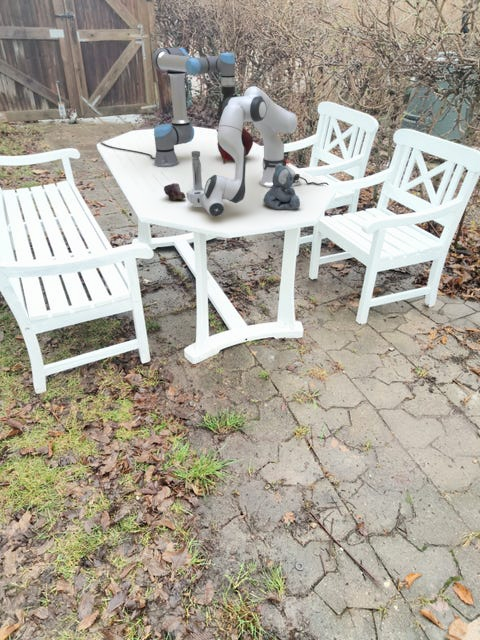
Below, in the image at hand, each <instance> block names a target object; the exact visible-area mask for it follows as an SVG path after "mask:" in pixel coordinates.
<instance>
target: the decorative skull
mask: <svg viewBox="0 0 480 640" xmlns="http://www.w3.org/2000/svg"><path fill="white" fill-rule="evenodd" d="M216 132H217V133H218V128H217V129H216ZM241 139H242V144H243V146H244V147H245V150H246V157H247V156H248V155H249V153H250V152H251V149H252V148H253V145H254V137H253V136H252V135H251V134H250V132H249V131H248V130H247V129H246V128H244V127H243V129H242V135H241ZM217 149H218V152H219V154H220V157H221V159H223V162H222V163H223V164H225V163H226V161H235V160H234V158H233V157H232V156H231V155H230V154H229V153H228V152H226V151H225V150H224V149H223V148H222V147H221V146H220V144H219V143H218V142H217Z"/></svg>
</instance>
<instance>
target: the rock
mask: <svg viewBox="0 0 480 640" xmlns="http://www.w3.org/2000/svg"><path fill="white" fill-rule="evenodd" d="M163 191H164V193H165V195H166V196H167V197H168V199H170V200H172V201H174V200H183V199H187V196H186V193H184V192H183V191H181V187H180V184H179V183H175V182H174V183H171V184H167V185H164V187H163Z"/></svg>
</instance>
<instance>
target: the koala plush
mask: <svg viewBox="0 0 480 640" xmlns="http://www.w3.org/2000/svg"><path fill="white" fill-rule="evenodd" d="M272 181H273V185H272V187H270V189H268V190H267V191H266V192H265V194H264V196H263V198H262V201H263V203H264V205H265V206H266V207H270V208H272V209H276V210H282V209H284V210H289V211H292V210H298V209H299V208H300V207H301V201H300V198H299V195H296V191H295V188H294V186H292V184H293V183H294V182H295V178H294V177H292V174H291V173H290V171H289V170H288V169H287V168H285V167H283V166H282V165H281V164H278V165H276V167H275V172H274V174H273V180H272Z"/></svg>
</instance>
